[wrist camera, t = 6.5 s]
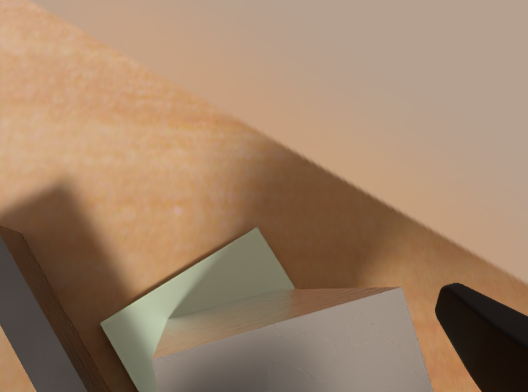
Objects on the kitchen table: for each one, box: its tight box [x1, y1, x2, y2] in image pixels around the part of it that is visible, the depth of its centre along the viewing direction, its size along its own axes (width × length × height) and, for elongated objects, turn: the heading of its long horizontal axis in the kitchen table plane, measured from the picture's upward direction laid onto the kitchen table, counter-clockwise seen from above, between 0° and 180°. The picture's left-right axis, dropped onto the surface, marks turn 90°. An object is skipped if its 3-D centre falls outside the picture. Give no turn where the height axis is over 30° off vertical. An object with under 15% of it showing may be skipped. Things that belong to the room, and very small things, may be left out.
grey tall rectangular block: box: [152, 287, 434, 392], centre depth 11 cm, size 4×4×10 cm
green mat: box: [100, 227, 295, 392], centre depth 16 cm, size 8×7×1 cm
